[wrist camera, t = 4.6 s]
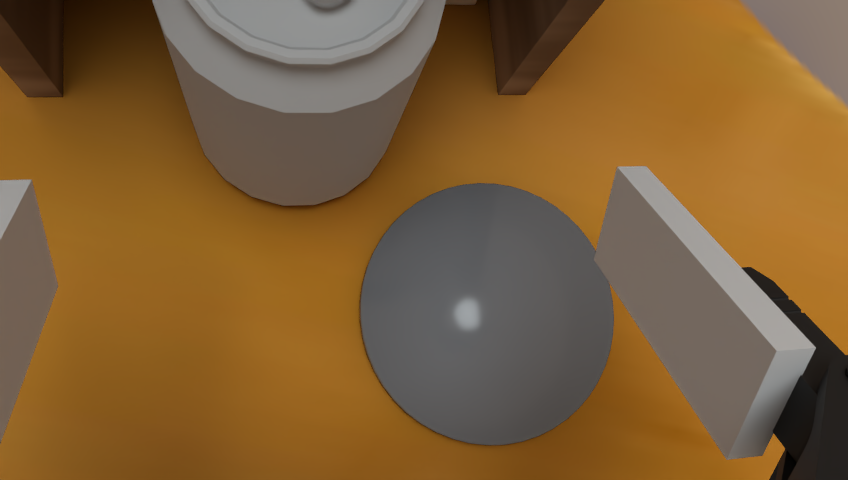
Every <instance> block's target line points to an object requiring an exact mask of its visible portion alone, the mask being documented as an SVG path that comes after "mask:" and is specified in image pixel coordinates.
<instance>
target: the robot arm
mask: <svg viewBox="0 0 848 480" xmlns="http://www.w3.org/2000/svg"><path fill="white" fill-rule="evenodd" d="M594 260H595V262H596V263H597V265H598V266H599V268H600V269H601V271H602V272H603V274H604V275H605V277H606V279H607V280H608V282H609V283H610V285H611V286H612V288H613V289H614V291H615V292H616V294H617V295H618V297H619V298H620V300H621V301H622V303H623V304H624V306H625V307H626V309H627V310H628V312H629V313H630V315H631V316H632V318H633V319H634V321H635V322H636V324H637V325H638V327H639V328H640V330H641V331H642V333H643V334H644V336H645V337H646V339H647V340H648V342H649V343H650V345H651V346H652V348H653V349H654V351H655V352H656V354H657V355H658V357H659V358H660V360H661V361H662V363H663V364H664V366H665V367H666V369H667V370H668V372H669V373H670V375H671V376H672V378H673V380H674V381H675V383H676V384H677V386H678V387H679V389H680V390H681V392H682V393H683V395H684V396H685V398H686V399H687V401H688V402H689V404H690V405H691V407H692V408H693V410H694V411H695V413H696V414H697V416H698V417H699V419H700V420H701V422H702V423H703V425H704V426H705V428H706V429H707V431H708V432H709V434H710V435H711V437H712V438H713V440H714V441H715V443H716V444H717V446H718V447H719V449H720V450H721V452H722V453H723V455H724V456H725V458H726V459H727V460H728V459H737V458H745V457H754V456H762V455H763V453H764V451H765V449H766V447H767V445H768V443H769V441H770V439H771V437H772V435H773V433H774V434H775V435H776V437H777V438H778V439H779V441H780V442H781V443H782V445H783V446H784V447H785V451H784V453H783V454H782V456H781V458H780V460H779V462H778V464H777V466H776V468H775V470H774V472H773V474H772V476H771V477H770V479H769V480H848V355H845V354H844V353H843V352H842V351H841V350H840V349H839V348H838V347H837V346H836V345H835V344H834V343H833V342H832V341H831V340H830V339H829V338H828V337H827V336H826V335H825V334H824V333H823V332H822V331H821V330H820V329H819V328H818V327H817V326H816V325H815V324H814V323H813V321H812V320H811V319H810V318H809V317H808V316H807V315H806V314H805V313H801V309H800V308H799V307H798V306H797V305H796V304H795V303H794V302H793V301H792V300H789V299H788V296H787V295H786V294H785V293H784V292H783V291H782V290H781V289H780V288H779V287H778V286H777V285H776V283H775V282H774V281H772V280H771V279H769V278H767V277H766V276H764V275H763V274H761V273H759V272H758V271H756V270H755V269H753V268H751V267H745V268H741V267H740V266H739V265H738V264H737V263H736V262H735V261H734V260H733V259H732V258H731V256H730V255H729V254H728V253H727V252H726V251H725V250H724V249H723V248H722V247H721V246H720V245H719V244H718V243H717V242H716V240H715V239H714V238H713V237H712V236H711V235H710V234H709V233H708V232H707V231H706V230H705V229H704V228H703V227H702V226H701V224H700V223H699V222H698V221H697V220H696V219H695V218H694V217H693V216H692V215H691V214H690V213H689V212H688V211H687V210H686V208H685V207H684V206H683V205H682V204H681V203H680V202H679V201H678V200H677V199H676V198H675V197H674V196H673V195H672V193H671V192H670V191H669V190H668V189H667V188H666V187H665V186H664V185H663V184H662V183H661V182H660V181H659V180H658V179H657V177H656V176H655V175H654V174H653V173H652V172H651V171H650V170H649V169H648V168H647V167H646V166H635V167H617V170H616V174H615V178H614V182H613V186H612V189H611V193H610V197H609V201H608V205H607V209H606V213H605V217H604V221H603V225H602V229H601V233H600V237H599V241H598V245H597V249H596V253H595V257H594ZM57 288H58V283H57V279H56V275H55V271H54V267H53V263H52V259H51V255H50V251H49V247H48V243H47V239H46V235H45V231H44V227H43V223H42V219H41V215H40V211H39V207H38V203H37V199H36V195H35V191H34V187H33V183H32V180H0V443H1V440H2V437H3V435H4V432H5V429H6V427H7V424H8V421H9V418H10V416H11V413H12V410H13V407H14V405H15V402H16V399H17V397H18V394H19V391H20V388H21V386H22V383H23V380H24V377H25V375H26V372H27V369H28V367H29V364H30V361H31V358H32V356H33V353H34V350H35V348H36V345H37V342H38V339H39V337H40V334H41V331H42V328H43V326H44V323H45V320H46V318H47V315H48V312H49V309H50V307H51V304H52V301H53V298H54V296H55V293H56V290H57Z"/></svg>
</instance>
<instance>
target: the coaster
mask: <svg viewBox="0 0 848 480" xmlns="http://www.w3.org/2000/svg"><path fill="white" fill-rule="evenodd" d="M595 253H596V251H595V249H594V248H593V246H592V244H591V243H590V241H589V240H588V238H587V237H586V236H585V235H584V233H583V232H582V231H581V230H580V228H579V227H578V226H577V225H576V224H575V223H574V222H573V221H572V220H571V219H570V218H569V217H568V216H567V215H565V214H564V213H563V212H562V211H560V210H559V209H558V208H557V207H555V206H554V205H552V204H550V203H549V202H547V201H545V200H544V199H542V198H540V197H538V196H536V195H534V194H531V193H529V192H527V191H524V190H521V189H517V188H514V187H511V186H505V185H499V184H485V183H477V184H466V185H460V186H456V187H452V188H447V189H445V190H442V191H439V192H437V193H434V194H432V195H430V196H428V197H426V198H425V199H423V200H421V201H419V202H417V203H416V204H415V205H413V206H412V207H411V208H409V209H408V210H407V211H405V212H404V213H403V214H402V215H401V216H400V217H399V218H398V219H397V220H396V221H395V222H394V223H393V224H392V225H391V227H390V228H389V229H388V231H387V232H386V233H385V234H384V236H383V237H382V239H381V240H380V242H379V244H378V245H377V247H376V249H375V250H374V252H373V254H372V256H371V259H370V261H369V264H368V266H367V268H366V272H365V275H364V279H363V283H362V288H361V295H360V327H361V334H362V339H363V343H364V347H365V351H366V354H367V357H368V359H369V362H370V364H371V366H372V369H373V371H374V373H375V374H376V376H377V378H378V380H379V381H380V383H381V385H382V386H383V388H384V389H385V390H386V392H387V393H388V394H389V396H390V397H391V398H392V400H393V401H394V402H395V403H396V404H397V405H398V406H399V407H400V408H401V409H402V410H403V411H404V412H405V413H407V414H408V415H409V416H411V417H412V418H413V419H415V420H416V421H417V422H419V423H420V424H422V425H424V426H425V427H427V428H429V429H431V430H432V431H434V432H436V433H439V434H441V435H444V436H446V437H449V438H452V439H455V440H459V441H463V442H467V443H472V444H482V445H505V444H511V443H516V442H522V441H525V440H528V439H531V438H534V437H537V436H539V435H541V434H543V433H545V432H547V431H549V430H551V429H553V428H555V427H556V426H558V425H559V424H561V423H562V422H564V421H565V420H566V419H568V418H569V417H570V416H571V415H572V414H573V413H574V412H575V411H576V410H577V409H579V407H580V406H581V405H582V404H583V403H584V401H585V400H586V399H587V398H588V397H589V395H590V394H591V392H592V391H593V389H594V387H595V386H596V384H597V383H598V381H599V379H600V377H601V374H602V372H603V370H604V368H605V365H606V362H607V359H608V356H609V352H610V348H611V343H612V337H613V324H614V314H613V301H612V296H611V290H610V285H609V282H608V280H607V279H606V277H605V275H604V274H603V272H602V271H601V269H600V268H599V266H598V265H597V263H596V262H595V260H594V257H595Z"/></svg>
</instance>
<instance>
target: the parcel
mask: <svg viewBox="0 0 848 480" xmlns="http://www.w3.org/2000/svg"><path fill="white" fill-rule="evenodd" d="M476 2H477V0H446V2H445V4H458V5H475V4H476Z"/></svg>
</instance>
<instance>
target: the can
mask: <svg viewBox="0 0 848 480" xmlns="http://www.w3.org/2000/svg"><path fill="white" fill-rule="evenodd" d="M152 2H153V5H154V8H155V11H156V14H157V17H158V20H159V23H160V26H161V29H162V32H163V35H164V38H165V41H166V44H167V47H168V50H169V53H170V56H171V59H172V62H173V65H174V68H175V71H176V74H177V77H178V80H179V83H180V86H181V89H182V92H183V95H184V98H185V101H186V104H187V107H188V110H189V113H190V116H191V119H192V122H193V125H194V128H195V130H196V133H197V136H198V138H199V141H200V144H201V147H202V149H203V152H204V154H205V156H206V157H207V158H208V159H209V161H210V162H211V163H212V164H213V166H214V167H215V168H216V169H217V171H218V172H219V173H220V174H221V176H222V177H223V178H224V179H225V180H227V181H228V182H230V183H231V184H233V185H234V186H236V187H237V188H239V189H240V190H242V191H243V192H245V193H247V194H248V195H250V196H251V197H254V198H258V199H261V200H265V201H268V202H272V203H275V204H279V205H282V206H291V205H316V204H319V203H322V202H325V201H328V200H331V199H334V198H337V197H340V196H343V195H345V194H346V193H348V192H349V191H350V190H352V189H353V188H354V187H356V186H357V185H358V184H360V183H361V182H362V181H364V180H365V179H366V178H368V177H369V176H370V174H371V173H372V171H373V170H374V168H375V167H376V165H377V164H378V162H379V161H380V160H381V158H382V157H383V155H384V154H385V152H386V150H387V148H388V145H389V143H390V141H391V139H392V136H393V134H394V132H395V130H396V127H397V125H398V123H399V121H400V118H401V116H402V114H403V112H404V109H405V107H406V105H407V103H408V101H409V98H410V96H411V94H412V92H413V89H414V87H415V85H416V83H417V80H418V78H419V76H420V74H421V71H422V69H423V67H424V65H425V63H426V60H427V58H428V56H429V54H430V51H431V49H432V47H433V45H434V42H435V40H436V37H437V33H438V29H439V25H440V21H441V18H442V14H443V10H444V6H445V2H446V0H152Z"/></svg>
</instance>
